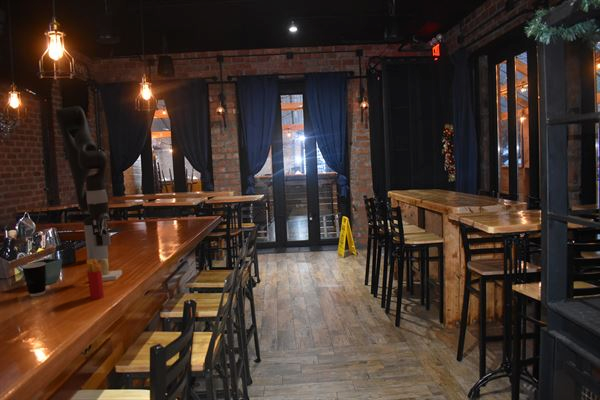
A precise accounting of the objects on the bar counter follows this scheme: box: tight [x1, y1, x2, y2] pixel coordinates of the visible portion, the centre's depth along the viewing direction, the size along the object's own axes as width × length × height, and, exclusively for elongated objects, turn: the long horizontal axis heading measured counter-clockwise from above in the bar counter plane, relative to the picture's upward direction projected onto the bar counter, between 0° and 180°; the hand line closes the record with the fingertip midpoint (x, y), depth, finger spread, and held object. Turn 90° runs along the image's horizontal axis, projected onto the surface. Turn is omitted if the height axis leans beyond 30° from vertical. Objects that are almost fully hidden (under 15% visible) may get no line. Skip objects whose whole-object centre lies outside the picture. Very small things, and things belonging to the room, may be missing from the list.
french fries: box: [86, 258, 105, 301], centre depth 168 cm, size 9×4×13 cm, turn 19°
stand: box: [100, 258, 123, 282], centre depth 195 cm, size 10×10×8 cm
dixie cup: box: [20, 262, 47, 297], centre depth 177 cm, size 8×8×11 cm
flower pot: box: [27, 258, 62, 286], centre depth 193 cm, size 9×9×9 cm
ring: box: [93, 232, 112, 247], centre depth 194 cm, size 6×6×4 cm
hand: (102, 243), depth 194 cm, fingers closed on ring, 6 cm apart
